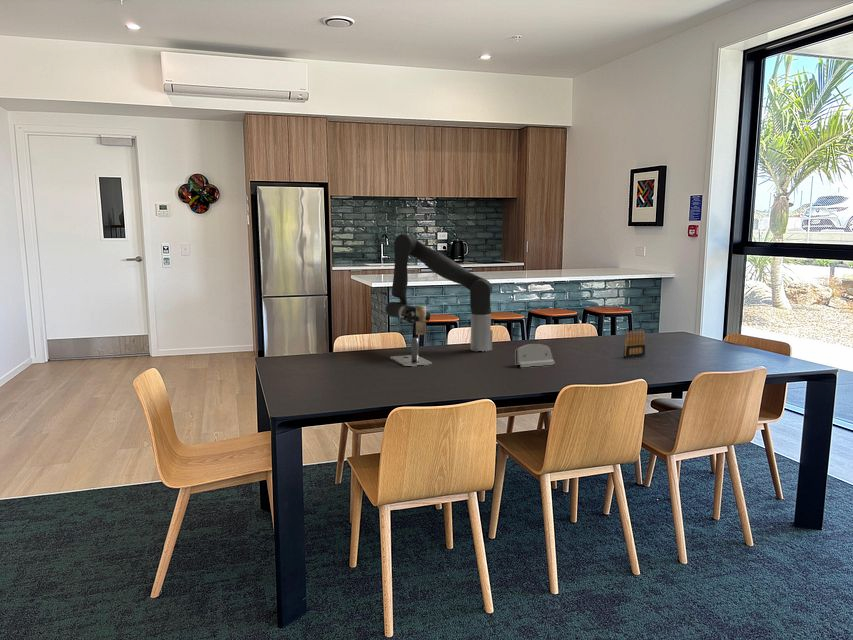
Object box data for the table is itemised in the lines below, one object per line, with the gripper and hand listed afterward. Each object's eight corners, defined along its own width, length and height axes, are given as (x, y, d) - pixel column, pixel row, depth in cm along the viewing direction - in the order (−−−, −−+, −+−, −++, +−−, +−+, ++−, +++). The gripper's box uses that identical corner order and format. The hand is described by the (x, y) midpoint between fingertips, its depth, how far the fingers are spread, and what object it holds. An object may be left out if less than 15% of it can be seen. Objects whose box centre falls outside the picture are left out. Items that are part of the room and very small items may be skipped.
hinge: (520, 368, 254) (517, 344, 256) (515, 369, 258) (511, 346, 260) (556, 365, 260) (552, 341, 262) (550, 367, 264) (546, 343, 266)
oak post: (423, 332, 275) (423, 305, 273) (427, 334, 271) (427, 307, 269) (414, 333, 274) (414, 306, 272) (418, 335, 269) (418, 307, 268)
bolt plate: (415, 356, 277) (415, 332, 275) (431, 364, 260) (432, 338, 259) (390, 358, 272) (390, 334, 270) (405, 367, 256) (405, 340, 254)
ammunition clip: (626, 357, 276) (627, 330, 275) (623, 356, 278) (624, 330, 276) (645, 355, 280) (646, 329, 279) (642, 355, 282) (643, 328, 280)
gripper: (394, 306, 281) (407, 310, 265) (423, 304, 287) (438, 309, 271) (394, 322, 282) (407, 328, 267) (423, 321, 288) (438, 326, 272)
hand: (423, 318), depth 269 cm, fingers closed on oak post, 4 cm apart
